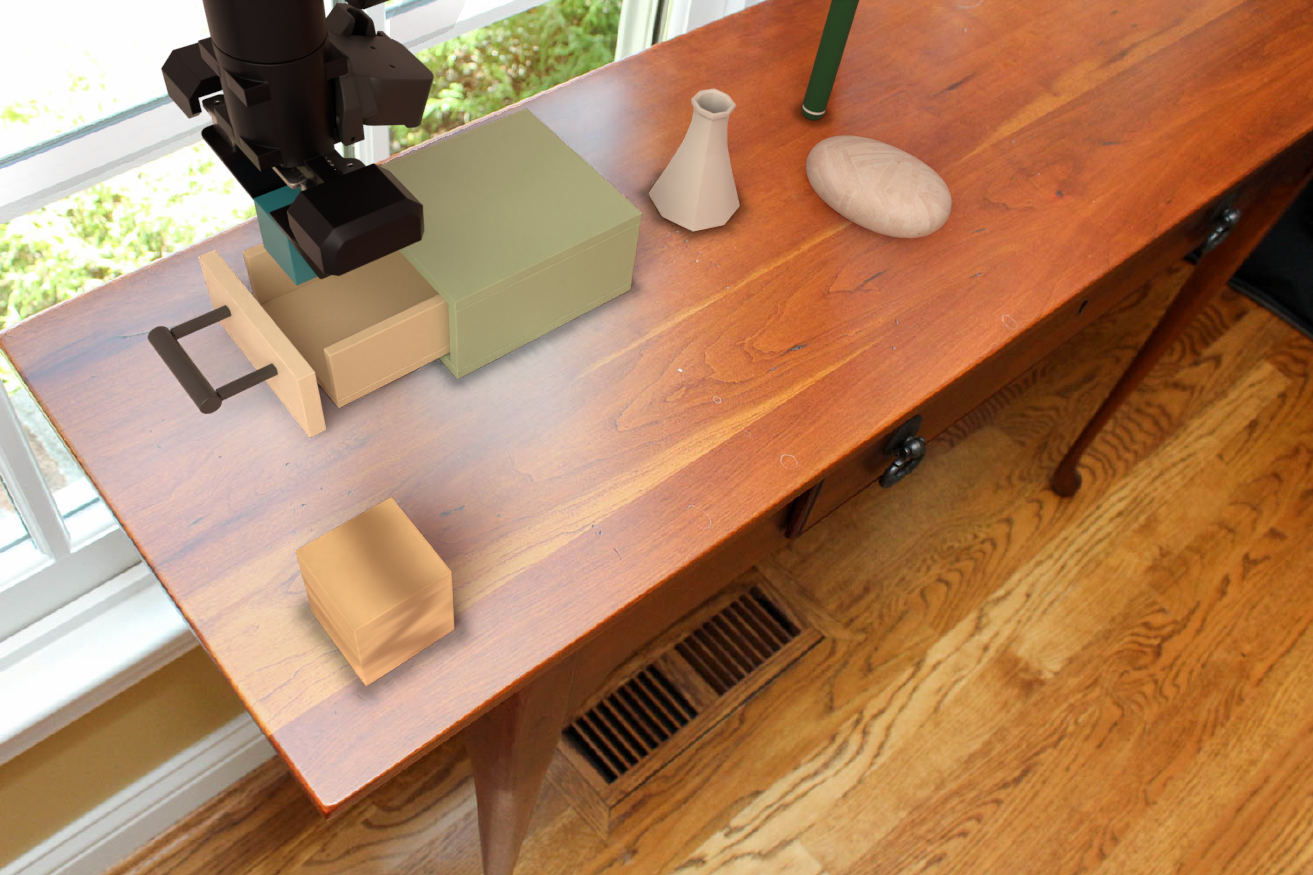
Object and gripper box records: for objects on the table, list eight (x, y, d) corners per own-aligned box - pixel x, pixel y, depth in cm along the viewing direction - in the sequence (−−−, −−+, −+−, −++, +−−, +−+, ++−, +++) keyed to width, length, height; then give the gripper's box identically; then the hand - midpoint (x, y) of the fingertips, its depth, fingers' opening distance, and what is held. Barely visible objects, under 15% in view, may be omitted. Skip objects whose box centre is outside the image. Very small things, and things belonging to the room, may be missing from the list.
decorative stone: (777, 198, 91) (791, 150, 87) (832, 150, 96) (847, 104, 92) (906, 274, 87) (926, 228, 83) (956, 221, 92) (978, 176, 88)
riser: (365, 687, 61) (353, 631, 55) (311, 610, 63) (294, 550, 58) (454, 629, 64) (452, 571, 58) (399, 558, 66) (391, 496, 60)
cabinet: (457, 379, 75) (455, 302, 69) (352, 262, 80) (341, 180, 74) (630, 289, 82) (642, 212, 76) (523, 187, 87) (526, 107, 81)
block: (296, 286, 65) (287, 237, 62) (263, 247, 67) (252, 198, 64) (354, 261, 67) (348, 212, 64) (321, 224, 69) (313, 175, 66)
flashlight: (779, 97, 99) (835, -120, 83) (830, 97, 100) (896, -117, 84) (792, 132, 96) (853, -86, 81) (845, 132, 97) (916, -83, 82)
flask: (632, 194, 89) (646, 92, 81) (695, 163, 92) (714, 61, 84) (691, 245, 86) (712, 144, 78) (754, 210, 89) (780, 110, 81)
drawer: (234, 476, 67) (215, 419, 62) (142, 350, 72) (118, 287, 67) (496, 343, 76) (497, 284, 71) (398, 238, 81) (393, 177, 76)
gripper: (507, 80, 55) (502, 294, 67) (316, -91, 62) (344, 131, 74) (309, 153, 49) (344, 370, 62) (127, -43, 57) (190, 187, 69)
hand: (308, 254), depth 67 cm, fingers closed on block, 4 cm apart
